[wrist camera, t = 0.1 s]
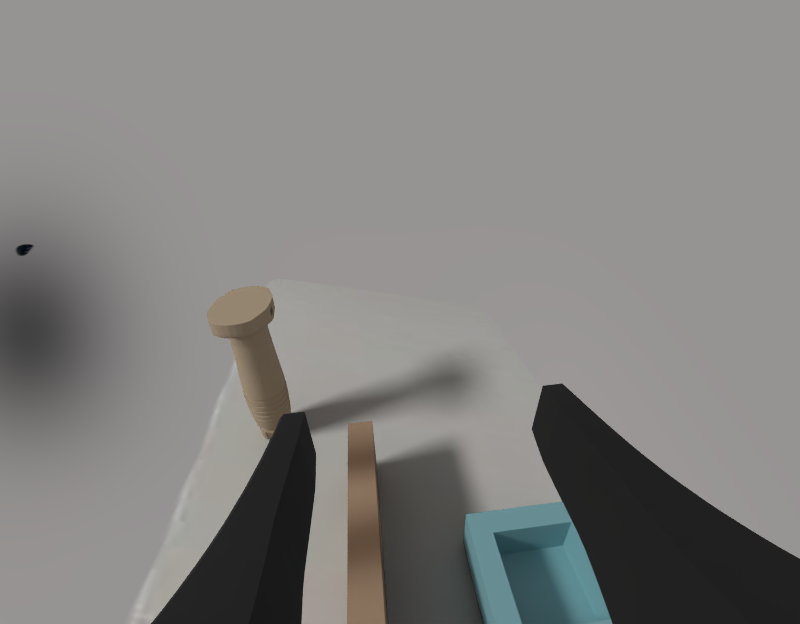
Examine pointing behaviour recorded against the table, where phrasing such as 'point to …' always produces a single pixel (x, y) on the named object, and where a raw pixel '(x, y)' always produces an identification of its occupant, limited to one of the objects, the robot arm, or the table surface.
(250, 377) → the handle
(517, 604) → the socket block
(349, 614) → the wall
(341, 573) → the table surface
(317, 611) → the table surface
